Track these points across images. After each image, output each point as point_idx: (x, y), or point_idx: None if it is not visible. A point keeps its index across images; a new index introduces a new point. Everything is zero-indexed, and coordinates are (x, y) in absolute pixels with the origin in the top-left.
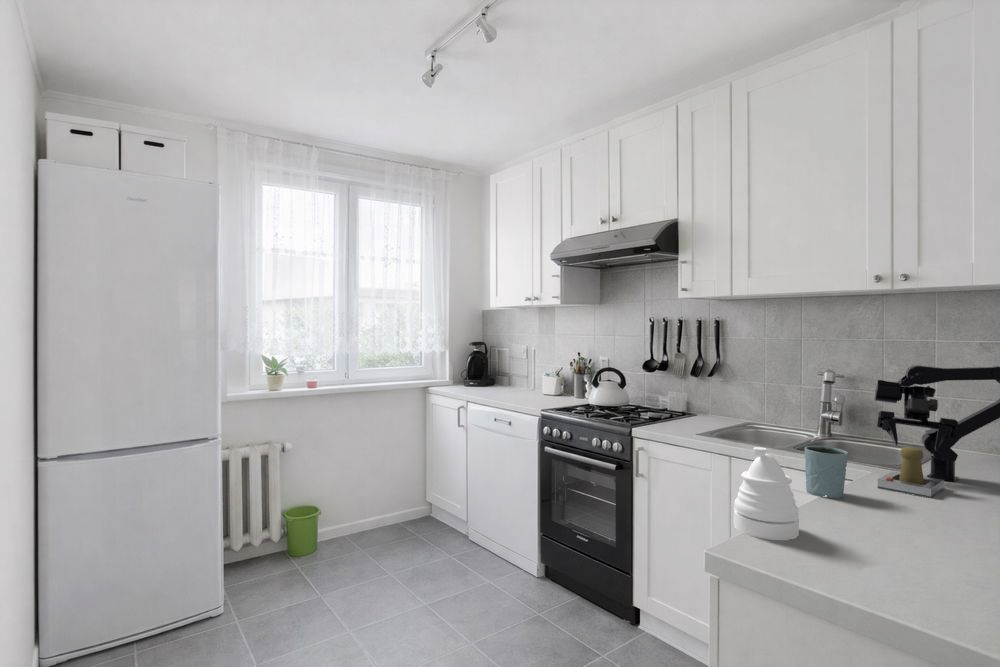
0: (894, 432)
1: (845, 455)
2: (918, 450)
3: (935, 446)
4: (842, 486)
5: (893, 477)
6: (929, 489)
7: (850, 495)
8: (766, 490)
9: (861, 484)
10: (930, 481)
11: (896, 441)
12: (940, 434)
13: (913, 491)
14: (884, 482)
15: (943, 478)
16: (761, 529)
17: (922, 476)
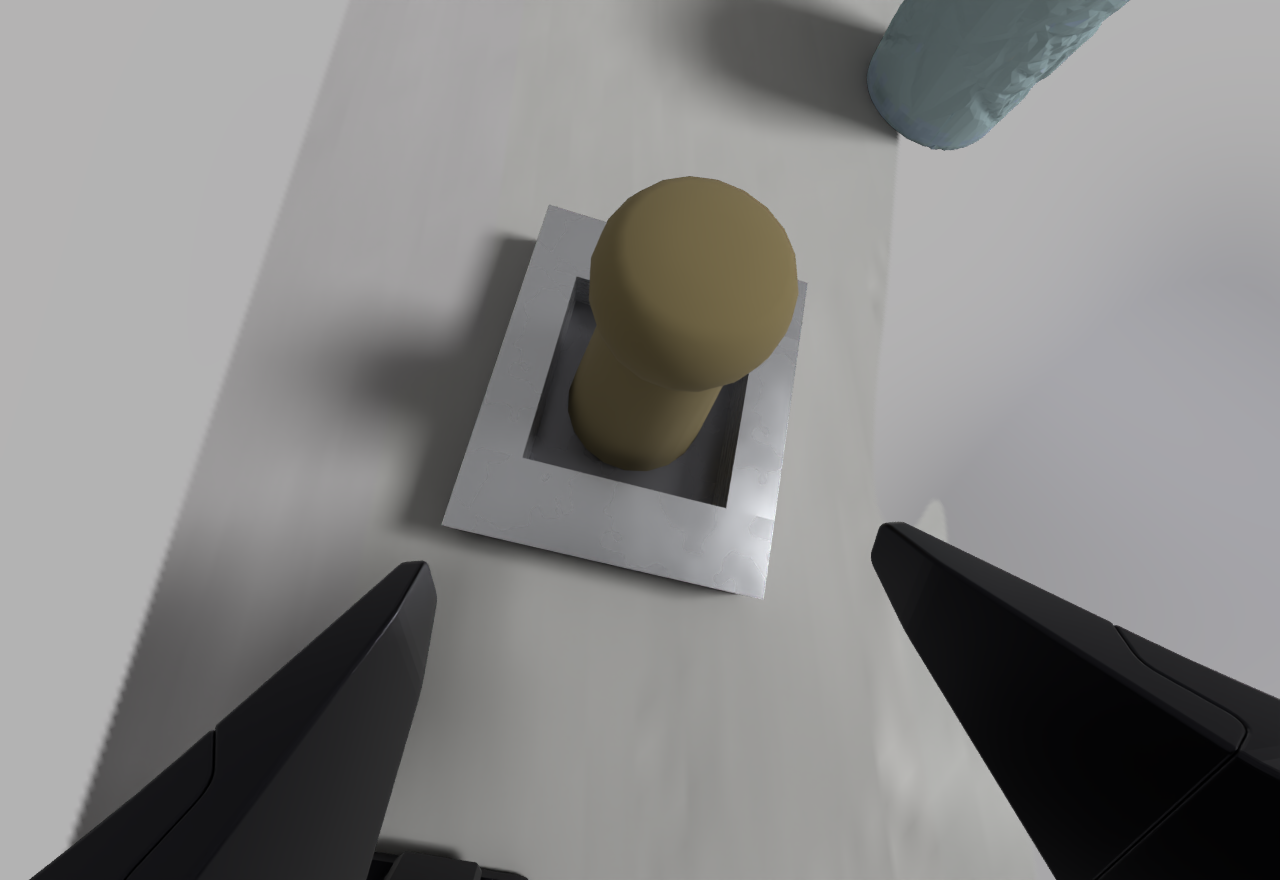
0: (1092, 632)
1: None
2: (642, 193)
3: (413, 614)
4: (897, 15)
5: (740, 411)
6: (555, 211)
7: (849, 116)
8: None
9: (855, 343)
10: (536, 405)
11: (915, 537)
12: (120, 874)
13: None
14: None
15: (413, 852)
16: None
17: (586, 349)
